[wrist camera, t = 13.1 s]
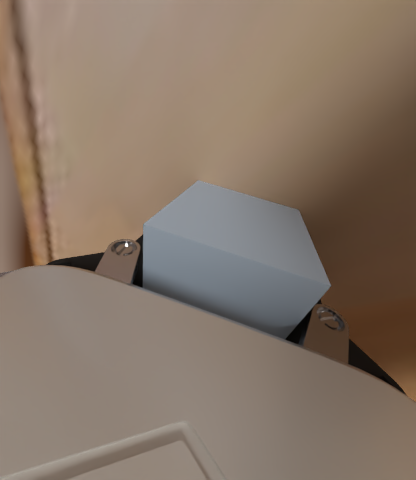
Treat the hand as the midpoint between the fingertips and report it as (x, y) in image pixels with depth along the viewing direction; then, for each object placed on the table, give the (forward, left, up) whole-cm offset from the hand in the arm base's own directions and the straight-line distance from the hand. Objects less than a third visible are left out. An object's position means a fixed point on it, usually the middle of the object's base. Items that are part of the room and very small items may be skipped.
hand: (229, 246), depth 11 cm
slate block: (0, 0, -1) cm, 1 cm away
